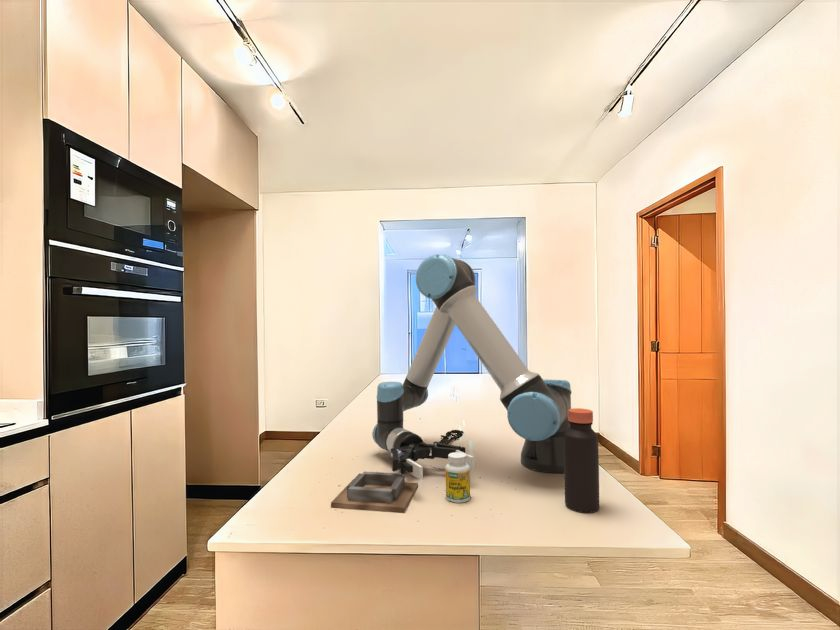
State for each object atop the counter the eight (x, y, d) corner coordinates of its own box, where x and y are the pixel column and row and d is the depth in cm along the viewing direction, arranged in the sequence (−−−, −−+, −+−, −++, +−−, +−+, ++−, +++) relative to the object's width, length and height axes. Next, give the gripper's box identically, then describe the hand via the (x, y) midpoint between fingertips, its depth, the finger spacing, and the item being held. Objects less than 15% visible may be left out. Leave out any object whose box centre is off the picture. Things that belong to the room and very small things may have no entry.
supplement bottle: (470, 493, 99) (469, 451, 99) (470, 503, 94) (469, 458, 94) (446, 493, 99) (445, 450, 100) (445, 503, 94) (444, 458, 94)
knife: (440, 454, 130) (440, 450, 130) (420, 452, 132) (420, 447, 132) (468, 434, 152) (468, 430, 152) (451, 432, 155) (451, 428, 155)
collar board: (418, 487, 103) (417, 472, 103) (404, 512, 90) (404, 495, 90) (353, 483, 106) (353, 468, 106) (331, 507, 93) (330, 490, 93)
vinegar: (578, 515, 87) (576, 414, 88) (558, 502, 94) (556, 408, 94) (606, 510, 89) (604, 412, 89) (585, 498, 96) (583, 406, 96)
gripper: (445, 452, 124) (491, 474, 105) (362, 467, 112) (398, 495, 93) (444, 425, 124) (491, 443, 105) (361, 437, 112) (397, 460, 93)
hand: (447, 467), depth 99 cm, fingers open, 13 cm apart
